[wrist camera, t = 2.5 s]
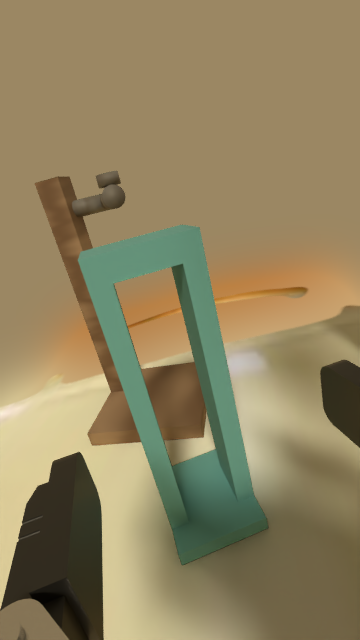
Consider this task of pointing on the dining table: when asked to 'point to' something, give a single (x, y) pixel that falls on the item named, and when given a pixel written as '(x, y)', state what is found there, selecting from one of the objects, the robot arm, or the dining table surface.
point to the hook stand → (162, 382)
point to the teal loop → (208, 351)
